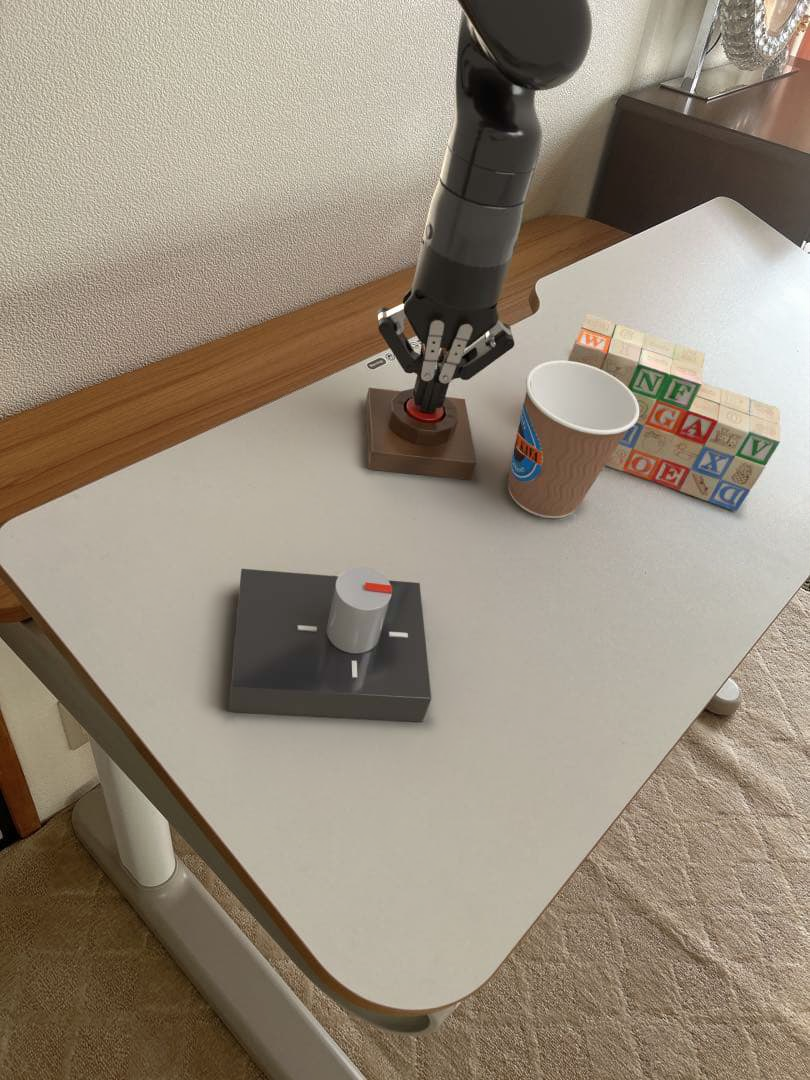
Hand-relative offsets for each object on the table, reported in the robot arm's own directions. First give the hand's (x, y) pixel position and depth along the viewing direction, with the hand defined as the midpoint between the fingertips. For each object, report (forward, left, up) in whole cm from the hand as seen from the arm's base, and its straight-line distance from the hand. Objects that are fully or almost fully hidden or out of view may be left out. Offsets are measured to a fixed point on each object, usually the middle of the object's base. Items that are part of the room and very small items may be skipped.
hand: (425, 407), depth 85 cm
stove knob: (-8, -27, -1) cm, 28 cm away
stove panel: (-9, -27, -4) cm, 29 cm away
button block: (0, 0, -4) cm, 4 cm away
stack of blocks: (+24, +1, -4) cm, 24 cm away
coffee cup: (+12, -6, -4) cm, 14 cm away
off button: (0, 0, -2) cm, 2 cm away
